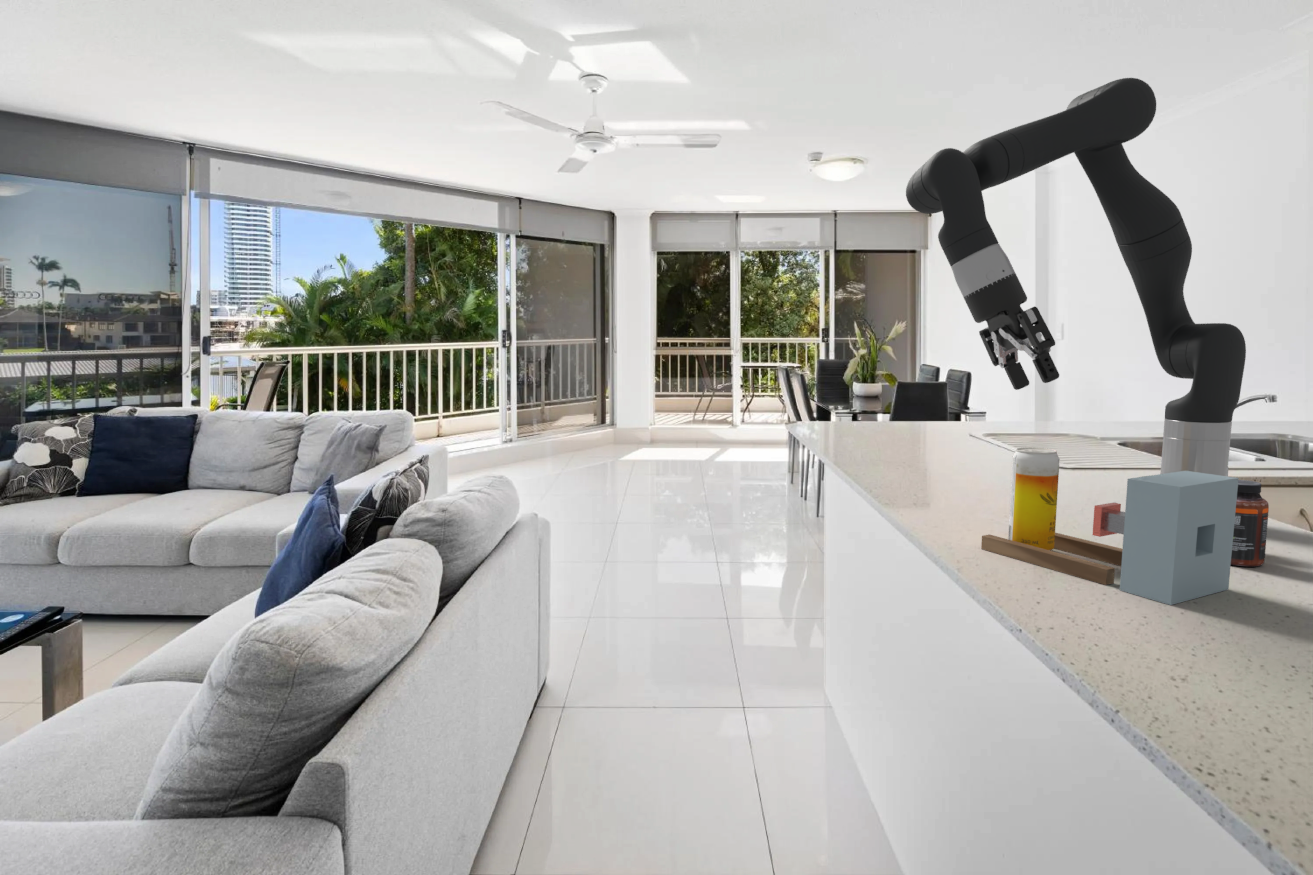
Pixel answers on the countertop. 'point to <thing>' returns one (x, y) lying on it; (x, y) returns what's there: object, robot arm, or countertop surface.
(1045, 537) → the beer can
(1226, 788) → the countertop surface
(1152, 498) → the end cabinet
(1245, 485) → the supplement bottle
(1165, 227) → the robot arm
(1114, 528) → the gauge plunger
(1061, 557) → the rail track
